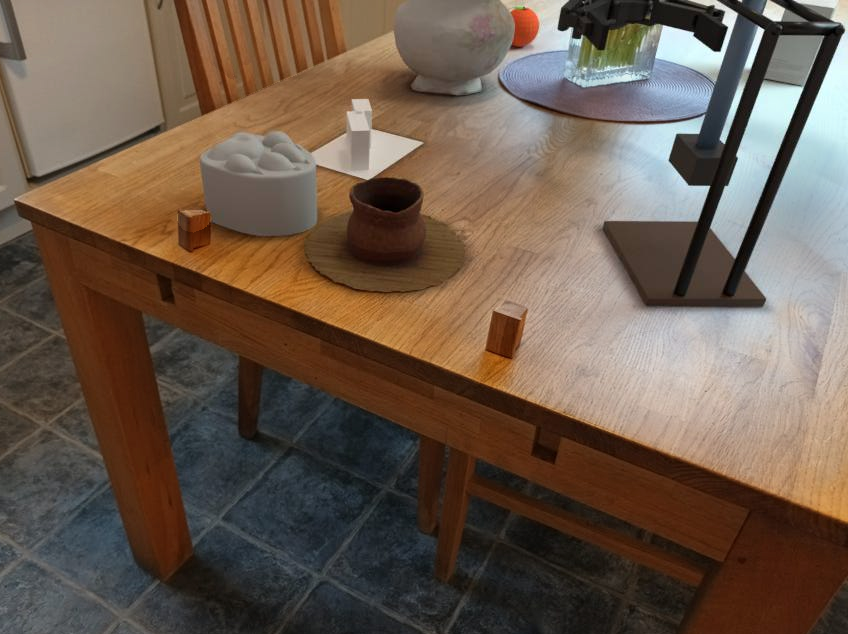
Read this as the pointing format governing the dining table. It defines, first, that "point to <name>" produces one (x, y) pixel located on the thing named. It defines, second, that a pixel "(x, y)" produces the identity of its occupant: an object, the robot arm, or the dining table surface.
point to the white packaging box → (798, 47)
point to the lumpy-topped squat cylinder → (260, 184)
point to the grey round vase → (452, 42)
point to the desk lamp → (695, 241)
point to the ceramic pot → (386, 241)
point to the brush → (716, 109)
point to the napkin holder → (363, 146)
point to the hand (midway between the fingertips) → (662, 38)
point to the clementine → (524, 26)
